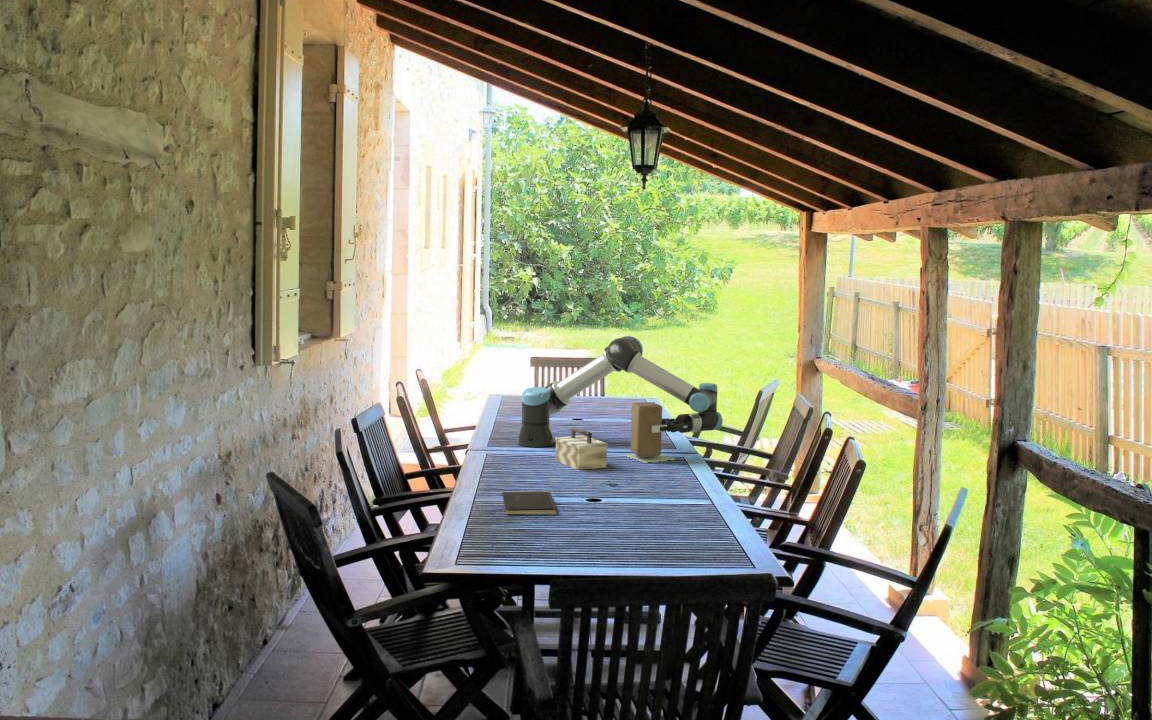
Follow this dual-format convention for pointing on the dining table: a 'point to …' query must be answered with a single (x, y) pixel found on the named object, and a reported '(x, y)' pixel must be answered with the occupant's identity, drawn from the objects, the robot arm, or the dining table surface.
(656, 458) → the mat
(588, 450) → the toolbox
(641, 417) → the wooden block
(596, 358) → the robot arm
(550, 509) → the hardcover book
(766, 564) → the dining table surface
